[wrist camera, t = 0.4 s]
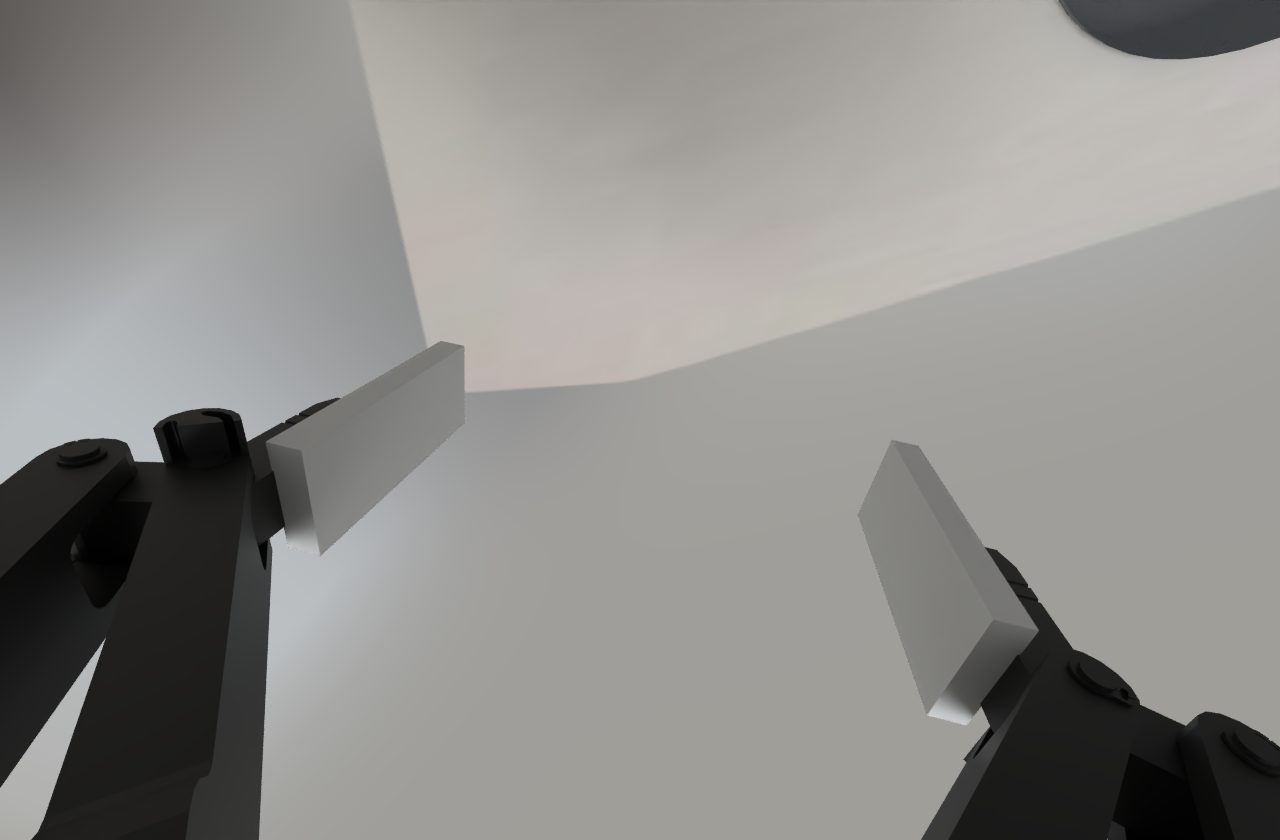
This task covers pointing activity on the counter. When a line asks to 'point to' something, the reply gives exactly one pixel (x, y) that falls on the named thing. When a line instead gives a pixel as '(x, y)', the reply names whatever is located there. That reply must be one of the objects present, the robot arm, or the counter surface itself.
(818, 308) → the counter surface
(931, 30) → the counter surface
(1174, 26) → the collar plate
